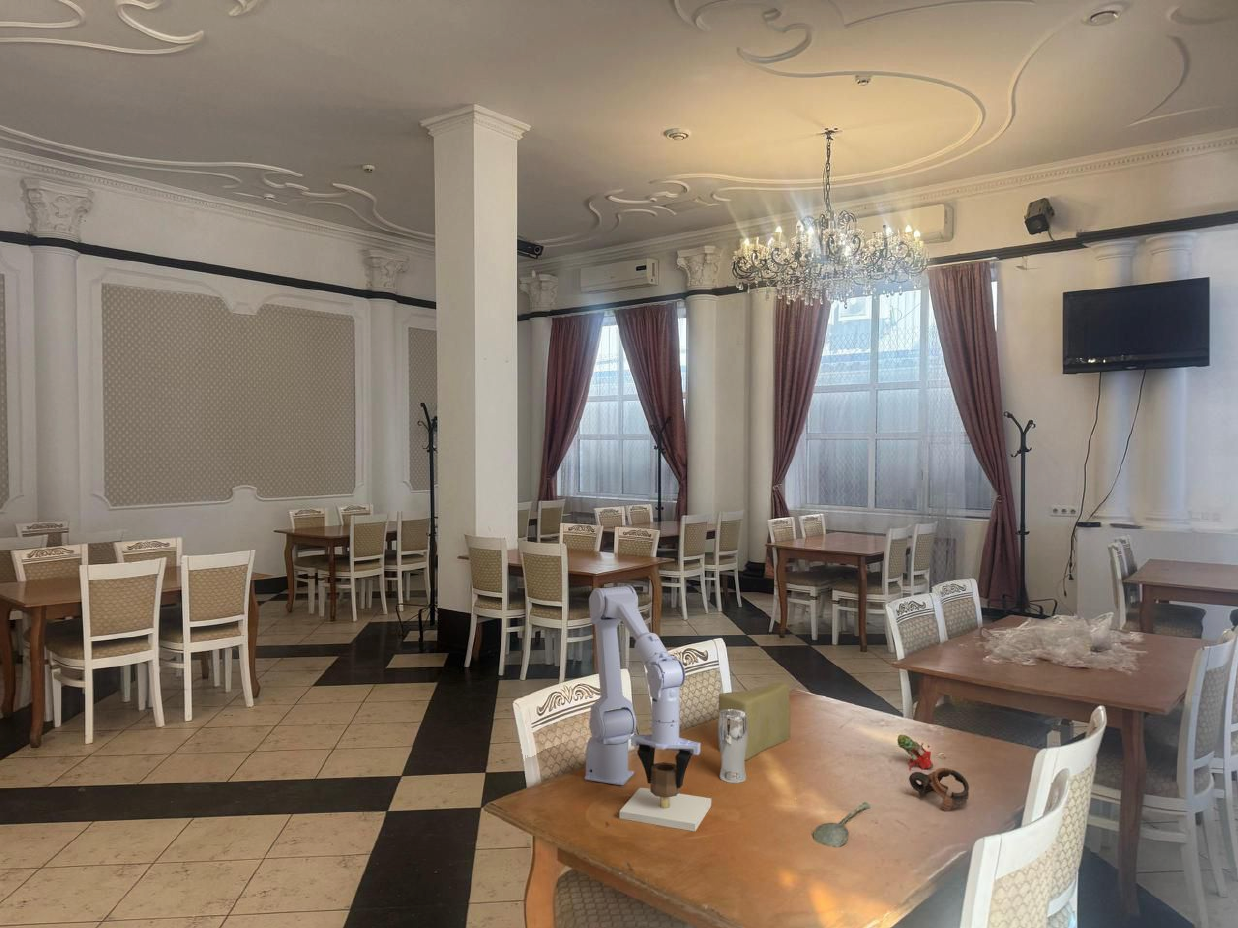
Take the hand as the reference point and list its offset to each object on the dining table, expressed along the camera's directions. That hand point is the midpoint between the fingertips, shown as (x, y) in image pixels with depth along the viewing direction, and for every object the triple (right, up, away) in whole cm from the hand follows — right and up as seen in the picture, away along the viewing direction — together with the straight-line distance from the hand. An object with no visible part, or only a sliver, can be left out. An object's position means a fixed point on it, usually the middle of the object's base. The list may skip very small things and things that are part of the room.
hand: (665, 783), depth 168 cm
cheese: (+27, -7, +40) cm, 49 cm away
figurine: (+62, -7, +27) cm, 68 cm away
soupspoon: (+36, -7, -5) cm, 37 cm away
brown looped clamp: (+60, -7, +7) cm, 60 cm away
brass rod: (0, -6, 0) cm, 6 cm away
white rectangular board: (0, -6, +1) cm, 6 cm away
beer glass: (+17, -7, +19) cm, 26 cm away
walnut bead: (0, -2, 0) cm, 2 cm away
